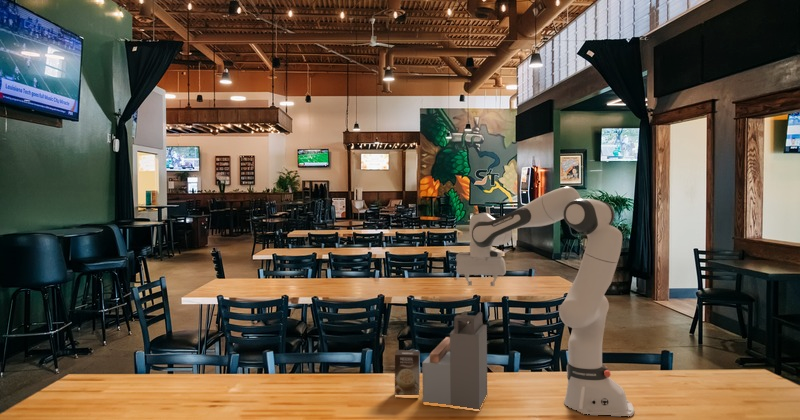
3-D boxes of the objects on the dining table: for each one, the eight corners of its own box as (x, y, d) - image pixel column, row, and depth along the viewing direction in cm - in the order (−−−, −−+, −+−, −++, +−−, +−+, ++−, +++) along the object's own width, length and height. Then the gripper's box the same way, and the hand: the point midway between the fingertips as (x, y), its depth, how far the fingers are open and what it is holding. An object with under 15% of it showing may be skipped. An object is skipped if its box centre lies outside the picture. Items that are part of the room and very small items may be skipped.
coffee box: (394, 398, 188) (393, 354, 188) (395, 392, 194) (395, 349, 194) (419, 399, 187) (418, 355, 187) (420, 392, 193) (419, 350, 193)
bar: (453, 345, 203) (453, 337, 203) (438, 362, 181) (438, 354, 181) (446, 344, 204) (446, 337, 204) (430, 362, 182) (429, 353, 182)
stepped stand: (487, 395, 190) (486, 309, 190) (479, 411, 175) (478, 319, 175) (434, 389, 197) (433, 307, 196) (422, 405, 181) (421, 315, 181)
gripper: (454, 252, 214) (454, 286, 214) (504, 253, 207) (504, 287, 207) (457, 251, 220) (458, 283, 220) (506, 251, 213) (506, 285, 213)
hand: (481, 285), depth 214 cm, fingers open, 8 cm apart
